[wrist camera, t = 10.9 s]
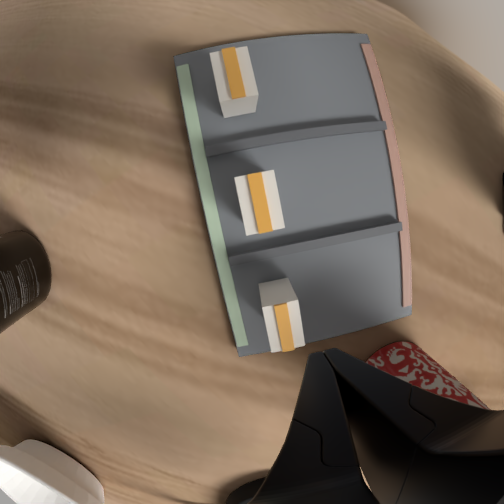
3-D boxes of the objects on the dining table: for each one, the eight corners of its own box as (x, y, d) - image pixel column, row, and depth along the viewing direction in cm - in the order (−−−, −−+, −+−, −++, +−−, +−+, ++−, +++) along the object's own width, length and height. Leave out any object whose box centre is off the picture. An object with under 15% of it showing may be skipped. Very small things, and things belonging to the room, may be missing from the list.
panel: (362, 39, 17) (370, 29, 16) (406, 309, 22) (416, 318, 21) (176, 61, 18) (171, 51, 16) (239, 350, 23) (239, 362, 21)
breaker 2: (287, 277, 20) (298, 301, 16) (294, 317, 21) (305, 347, 17) (258, 283, 20) (262, 308, 16) (266, 323, 21) (271, 354, 17)
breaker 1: (246, 71, 17) (247, 44, 13) (255, 112, 18) (258, 93, 14) (215, 76, 17) (209, 51, 13) (224, 118, 18) (219, 101, 14)
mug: (360, 328, 23) (446, 447, 9) (443, 330, 23) (534, 412, 10) (322, 436, 25) (354, 547, 12) (397, 429, 26) (446, 518, 13)
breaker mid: (267, 172, 19) (274, 169, 14) (276, 218, 19) (285, 228, 15) (235, 178, 19) (234, 177, 14) (245, 224, 19) (246, 236, 15)
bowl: (89, 429, 25) (62, 481, 17) (151, 515, 30) (142, 555, 22) (-17, 403, 25) (-44, 434, 17) (47, 490, 30) (33, 520, 22)
